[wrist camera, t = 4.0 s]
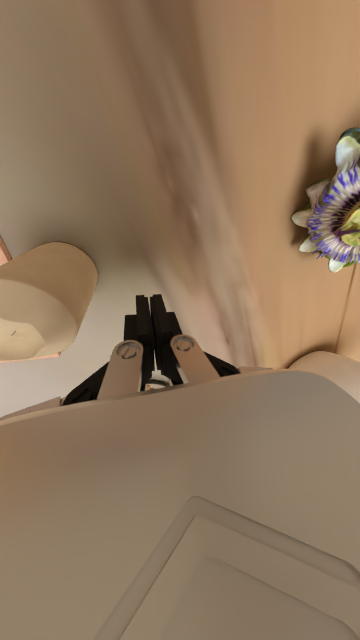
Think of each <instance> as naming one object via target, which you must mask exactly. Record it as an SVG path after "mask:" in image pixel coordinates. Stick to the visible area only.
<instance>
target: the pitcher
mask: <svg viewBox="0 0 360 640" xmlns="http://www.w3.org/2000/svg"><path fill="white" fill-rule="evenodd" d="M288 369H297V370H303V371H308V372H312V373H316V374H319V375H321V376H324V377H326V378H328V379H329V380H331V381H332V382H334V383H335V384H337V385H338V386H339V387H340V388H342V389H343V390H344V391H346V392H347V393H348V394H349V395H350V396H352V397H353V398H354V399H355V400H356V401H358V402H359V403H360V363H359V362H357V361H355V360H353V359H350V358H348V357H345V356H342V355H339V354H335V353H331V352H326V351H315V352H312V353H309V354H307V355H305V356H303V357H301V358H299V359H298V360H297V361H295V362H294V363H293V364H292V365H291V366H290V367H289V368H288Z"/></svg>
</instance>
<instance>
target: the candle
mask: <svg viewBox="0 0 360 640" xmlns="http://www.w3.org/2000/svg"><path fill="white" fill-rule="evenodd" d="M97 282H98V273H97V269H96V267H95V265H94V263H93V261H92V260H91V259H90V258H89V256H88V255H87V254H85V253H84V252H83V251H81V250H80V249H78V248H77V247H75V246H72V245H70V244H66V243H61V242H50V243H46V244H43V245H40V246H38V247H36V248H34V249H32V250H30V251H28V252H26V253H24V254H22V255H20V256H18V257H16V258H14V259H12V260H11V261H9V262H7V263H5V264H3V265H1V266H0V361H19V360H28V359H32V358H37V357H43V356H48V355H52V354H55V353H58V352H61V351H63V350H64V349H66V348H67V347H69V346H70V345H71V344H72V343H73V341H74V340H75V338H76V335H77V333H78V330H79V328H80V326H81V323H82V321H83V318H84V316H85V313H86V311H87V308H88V306H89V303H90V301H91V298H92V296H93V294H94V291H95V289H96V286H97Z"/></svg>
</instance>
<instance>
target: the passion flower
mask: <svg viewBox="0 0 360 640" xmlns="http://www.w3.org/2000/svg"><path fill="white" fill-rule="evenodd" d="M335 158H336V166H337V167H338V170H337V173H336V175H335V176H334V177H331V178H327V179H324V180H321V181H318V182H316V183H314V184H312V185H310V186H309V187H307V188H306V189H305V191H306V193H307V196H308V197H309V198H310V203H309V204H308V205H307V206H306V207H305V208H303V209H300V210H298V211H297V212H295V213H294V214H293V215H292V217H291V218H292V220H293V222H294V223H295V224H296V225H299V226H302V227H306V228H308V234H309V233H310V236H309V237H308V238H307V239H305V240H303V241H302V243H301V245H300V246H299V250H300V251H303V252H312V251H314V252H313V254H314V253H315V252H316V251H322V252H321V253H320V254H319V256H321V258H322V257H323V256H325V257H326V258H328V259H329V262H328V268H329V270H330V271H332V272H337V271H339V270H340V269H341V268H343V267H348V266H351V265H353V264H356V263H359V264H360V128H349V129H347V130H346V131H344V132H343V133H342V135H341V136H340V139H339V140H338V142H337V146H336V151H335ZM319 256H318V257H317V259H318V258H319Z"/></svg>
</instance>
